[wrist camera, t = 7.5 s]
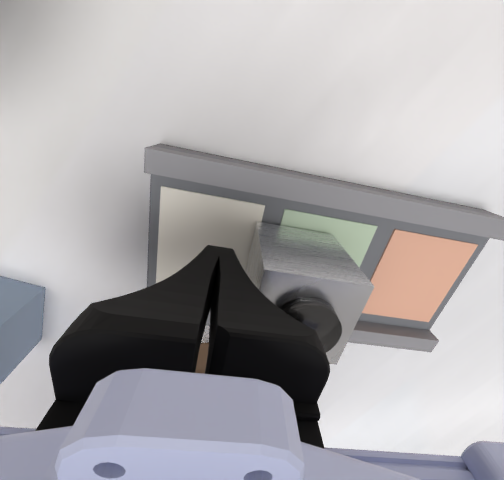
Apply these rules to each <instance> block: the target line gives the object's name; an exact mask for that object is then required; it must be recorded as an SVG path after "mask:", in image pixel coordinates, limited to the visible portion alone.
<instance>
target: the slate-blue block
mask: <svg viewBox="0 0 504 480" xmlns="http://www.w3.org/2000/svg"><path fill="white" fill-rule="evenodd" d="M44 298H45V287H41V286H37V285H33V284H29V283H25V282H21V281H18V280H14V279H10V278H6V277H2V276H0V384H1V383H2V382H3V381H4V380H5V379H6V377H7V376H8V375H9V374H10V373H11V372H12V371H13V370H14V369H15V368H16V366H17V365H18V364H19V363H20V362H21V361H22V360H23V359H24V358H25V357H26V355H27V354H28V353H29V352H30V351H31V350H32V349H33V348H34V347H35V346H36V344H37V343H38V342H39V341H40V340H41V338H42V325H43V311H44Z"/></svg>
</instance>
